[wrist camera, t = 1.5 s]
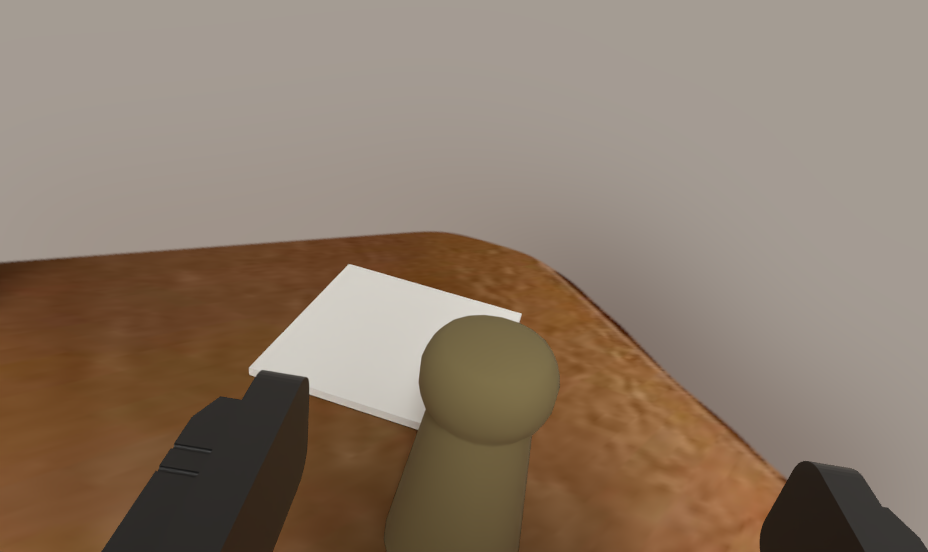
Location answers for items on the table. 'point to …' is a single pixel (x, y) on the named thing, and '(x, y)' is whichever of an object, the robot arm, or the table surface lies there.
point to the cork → (473, 438)
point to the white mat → (369, 342)
